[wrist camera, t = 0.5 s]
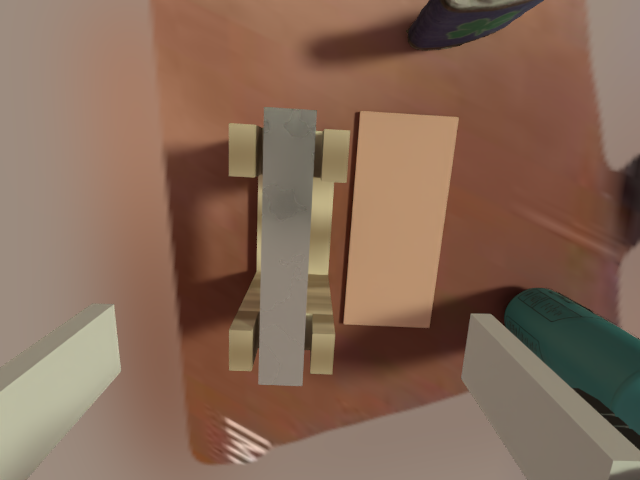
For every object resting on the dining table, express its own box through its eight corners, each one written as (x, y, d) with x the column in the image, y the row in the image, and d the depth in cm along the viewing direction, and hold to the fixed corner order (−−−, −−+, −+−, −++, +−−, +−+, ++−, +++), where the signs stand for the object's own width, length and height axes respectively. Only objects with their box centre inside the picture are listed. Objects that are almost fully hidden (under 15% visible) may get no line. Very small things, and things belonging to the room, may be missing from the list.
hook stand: (260, 128, 33) (228, 114, 21) (336, 132, 34) (350, 121, 21) (257, 300, 37) (229, 376, 25) (325, 303, 38) (331, 380, 25)
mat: (359, 111, 33) (360, 111, 33) (457, 117, 33) (458, 117, 33) (343, 322, 38) (343, 324, 38) (428, 326, 38) (429, 328, 38)
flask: (509, -4, 31) (606, -81, 21) (512, 33, 32) (608, -24, 22) (403, 21, 32) (447, -42, 21) (408, 57, 32) (453, 13, 22)
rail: (270, 112, 24) (263, 107, 21) (316, 115, 24) (316, 110, 21) (264, 360, 28) (258, 384, 25) (303, 361, 28) (302, 385, 25)
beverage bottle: (487, 332, 39) (662, 515, 19) (504, 274, 37) (713, 408, 18) (545, 341, 39) (775, 528, 20) (564, 283, 38) (834, 424, 18)
